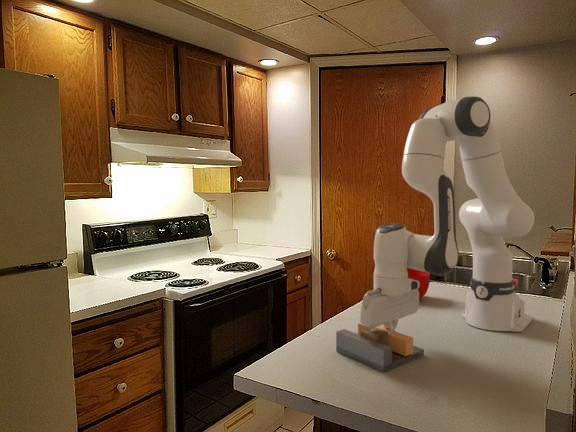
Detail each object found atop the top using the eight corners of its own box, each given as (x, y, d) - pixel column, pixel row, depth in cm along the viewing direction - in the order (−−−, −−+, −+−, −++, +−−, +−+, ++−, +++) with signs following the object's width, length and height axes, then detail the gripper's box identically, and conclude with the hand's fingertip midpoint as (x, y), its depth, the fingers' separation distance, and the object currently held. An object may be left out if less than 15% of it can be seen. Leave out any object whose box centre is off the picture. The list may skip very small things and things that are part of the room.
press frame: (376, 337, 125) (376, 318, 124) (423, 355, 112) (424, 334, 112) (336, 351, 115) (336, 331, 115) (383, 372, 103) (383, 350, 102)
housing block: (373, 344, 116) (373, 325, 115) (388, 350, 112) (388, 330, 111) (360, 349, 113) (360, 329, 112) (375, 355, 109) (375, 335, 108)
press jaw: (365, 334, 122) (365, 321, 122) (413, 353, 109) (413, 337, 109) (358, 337, 120) (358, 323, 120) (405, 356, 107) (405, 340, 107)
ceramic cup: (382, 302, 159) (382, 275, 158) (403, 292, 172) (403, 267, 171) (416, 308, 151) (416, 280, 150) (435, 297, 164) (435, 271, 163)
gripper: (373, 295, 106) (373, 349, 107) (423, 281, 118) (422, 330, 120) (354, 289, 111) (354, 341, 112) (404, 276, 123) (404, 323, 125)
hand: (390, 335), depth 116 cm, fingers closed
